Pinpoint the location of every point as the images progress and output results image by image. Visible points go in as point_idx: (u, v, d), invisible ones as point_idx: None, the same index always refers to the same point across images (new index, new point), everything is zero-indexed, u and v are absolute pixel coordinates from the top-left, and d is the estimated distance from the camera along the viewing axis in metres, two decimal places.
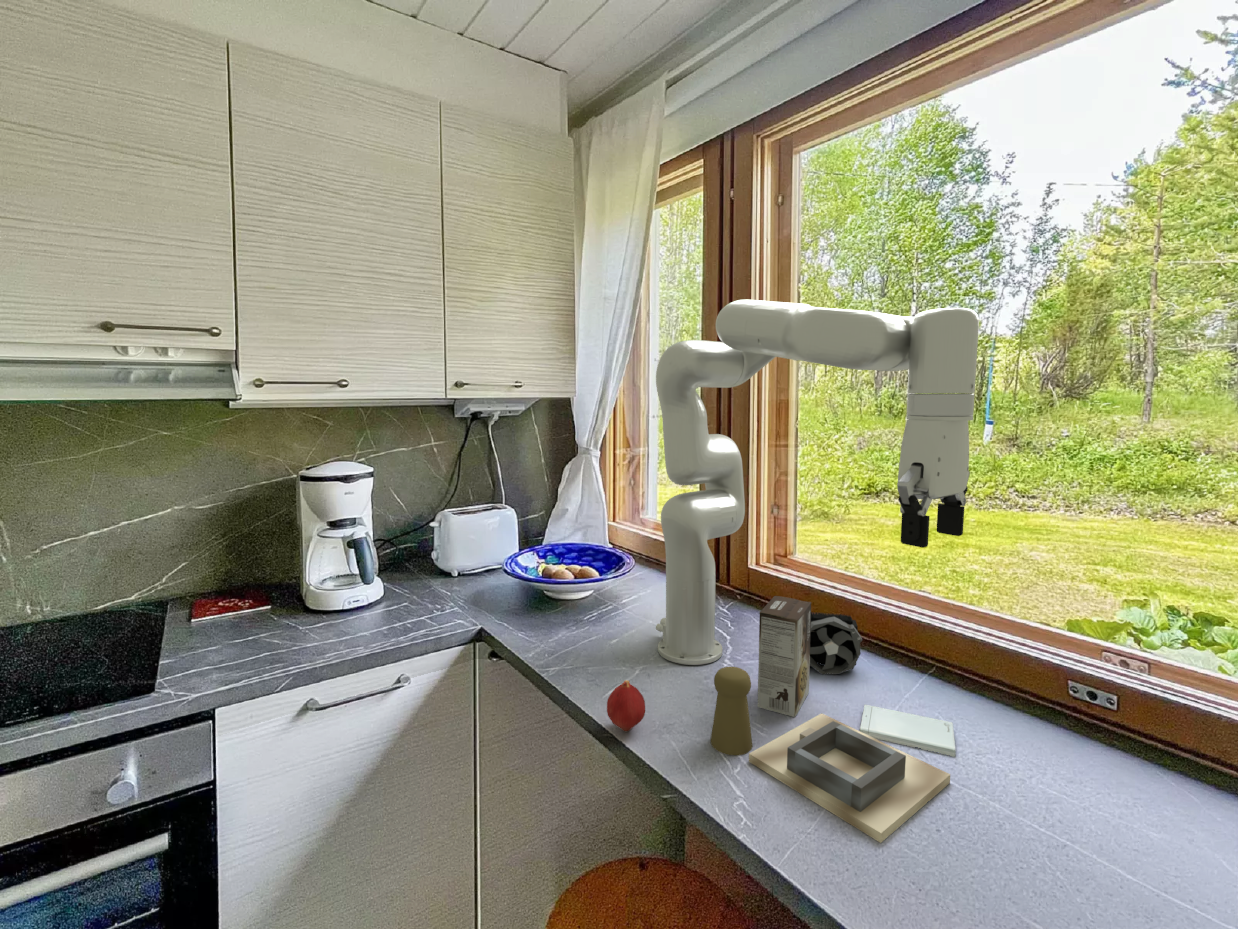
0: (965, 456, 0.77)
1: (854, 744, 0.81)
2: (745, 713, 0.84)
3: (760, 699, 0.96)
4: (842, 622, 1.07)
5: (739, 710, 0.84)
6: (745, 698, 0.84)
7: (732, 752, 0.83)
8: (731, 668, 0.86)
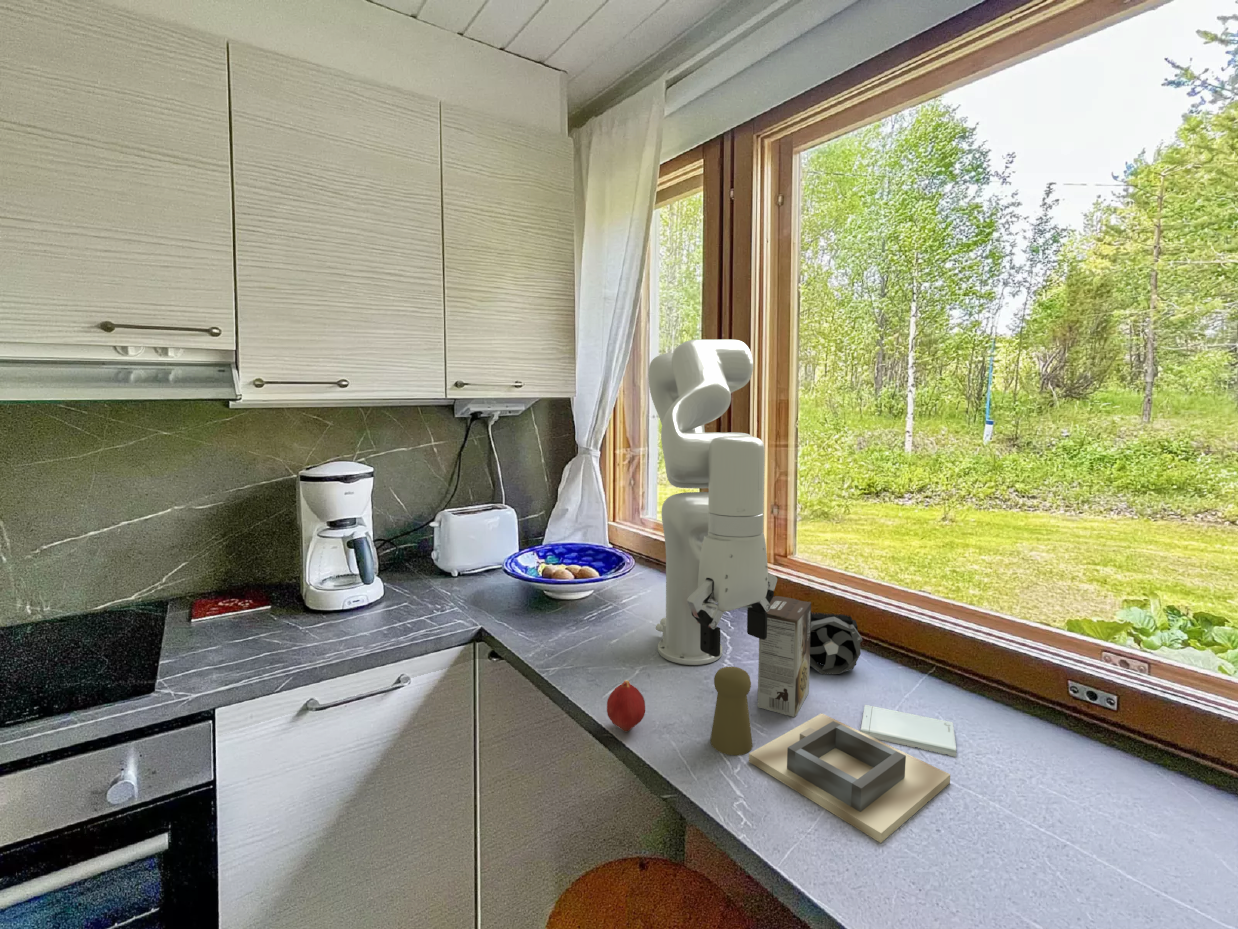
0: (761, 569, 0.83)
1: (854, 744, 0.81)
2: (745, 713, 0.84)
3: (760, 699, 0.96)
4: (842, 622, 1.07)
5: (739, 710, 0.84)
6: (745, 698, 0.84)
7: (732, 752, 0.83)
8: (731, 668, 0.86)
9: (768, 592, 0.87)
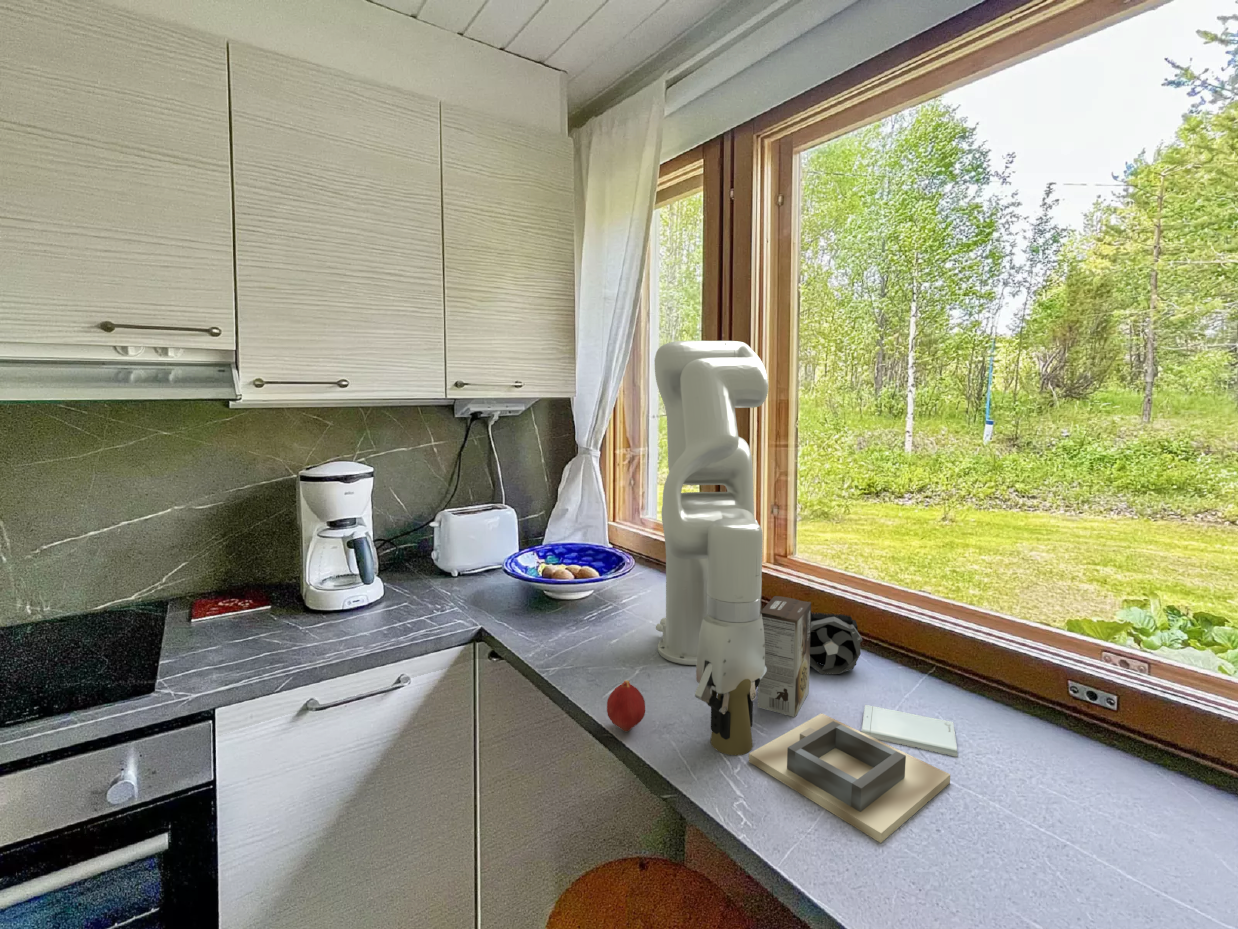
0: (758, 649, 0.85)
1: (854, 744, 0.81)
2: (745, 713, 0.84)
3: (760, 699, 0.96)
4: (842, 622, 1.07)
5: (739, 710, 0.84)
6: (745, 698, 0.84)
7: (732, 752, 0.83)
8: None
9: (754, 680, 0.87)
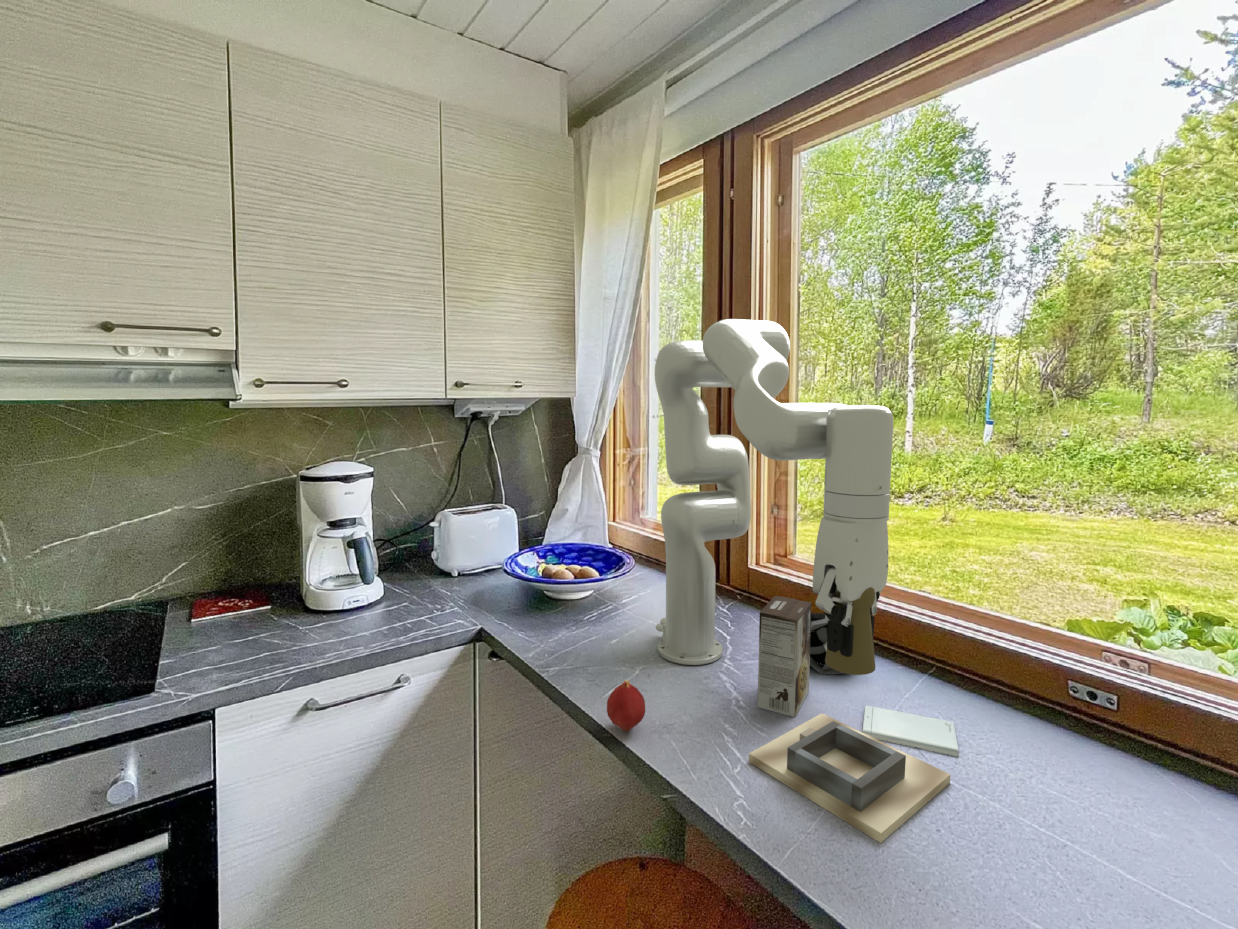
0: (883, 554, 0.74)
1: (854, 744, 0.81)
2: (869, 627, 0.73)
3: (760, 699, 0.96)
4: None
5: (863, 624, 0.73)
6: (869, 610, 0.74)
7: (855, 671, 0.73)
8: None
9: None
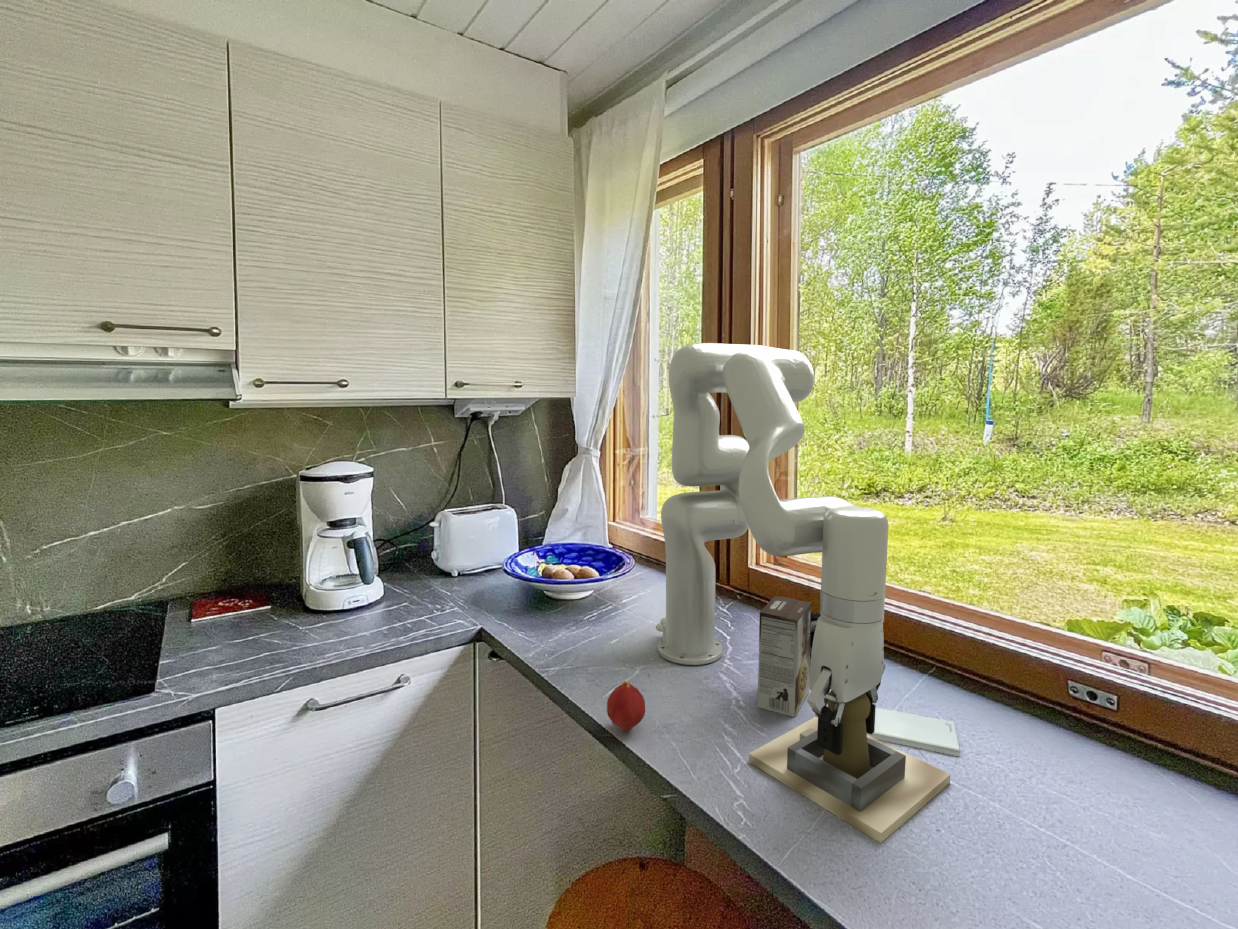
0: (878, 653, 0.75)
1: None
2: (864, 738, 0.76)
3: (760, 699, 0.96)
4: None
5: (859, 736, 0.75)
6: (864, 722, 0.76)
7: None
8: None
9: None
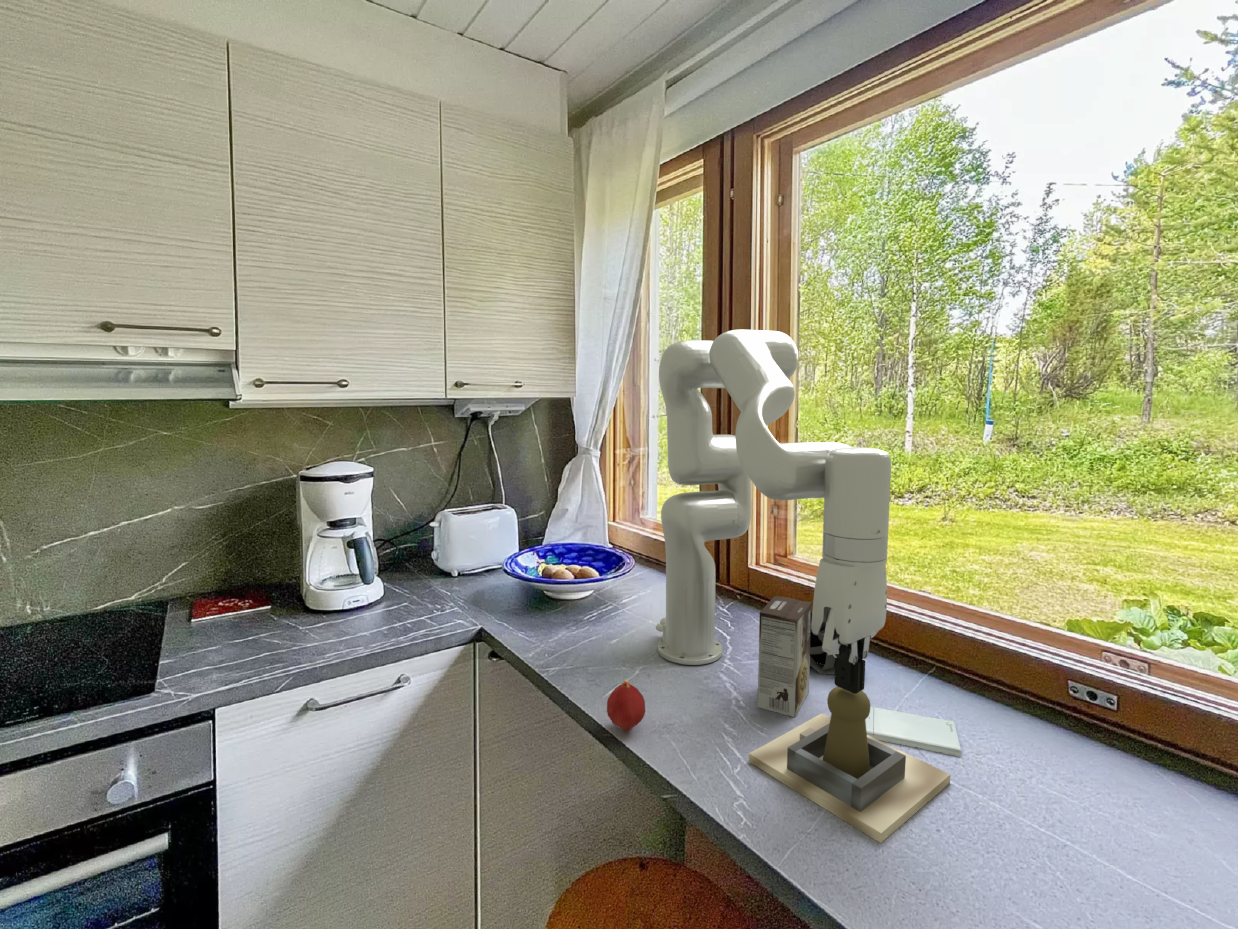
0: (881, 595, 0.74)
1: None
2: (864, 738, 0.76)
3: (760, 699, 0.96)
4: None
5: (859, 736, 0.75)
6: (864, 722, 0.76)
7: None
8: None
9: None
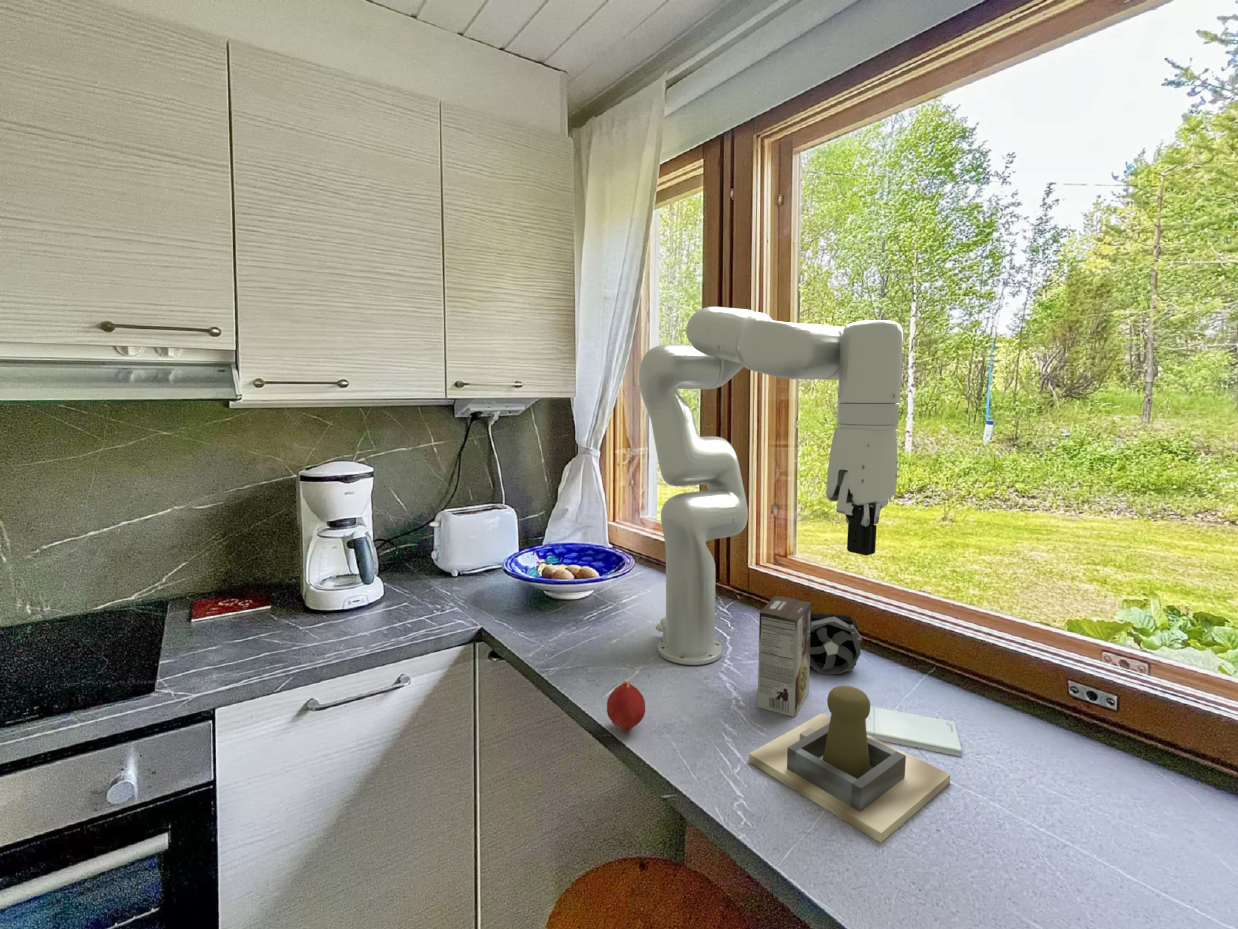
0: (892, 463, 0.79)
1: None
2: (864, 738, 0.76)
3: (760, 699, 0.96)
4: (842, 622, 1.07)
5: (859, 736, 0.75)
6: (864, 722, 0.76)
7: None
8: (846, 688, 0.77)
9: None
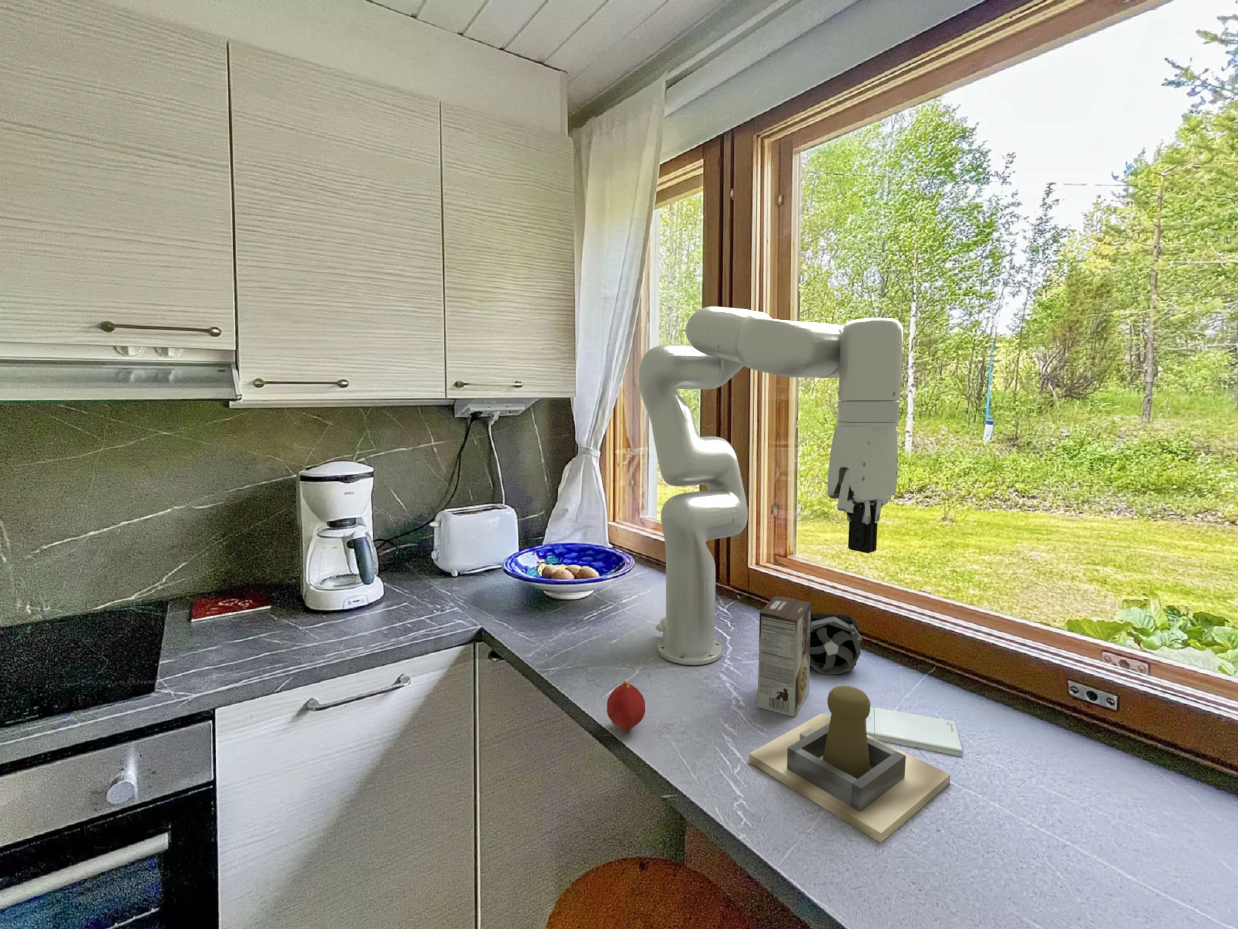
0: (893, 461, 0.79)
1: None
2: (864, 738, 0.76)
3: (760, 699, 0.96)
4: (842, 622, 1.07)
5: (859, 736, 0.75)
6: (864, 721, 0.76)
7: None
8: (846, 688, 0.77)
9: None
